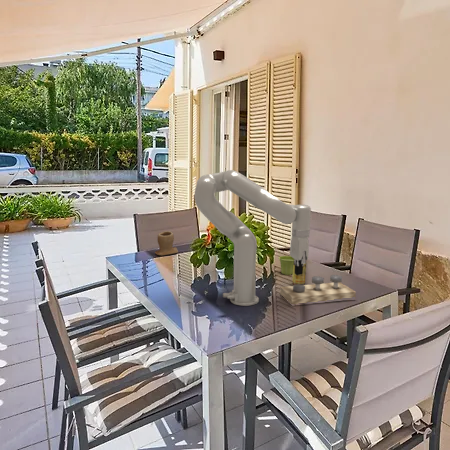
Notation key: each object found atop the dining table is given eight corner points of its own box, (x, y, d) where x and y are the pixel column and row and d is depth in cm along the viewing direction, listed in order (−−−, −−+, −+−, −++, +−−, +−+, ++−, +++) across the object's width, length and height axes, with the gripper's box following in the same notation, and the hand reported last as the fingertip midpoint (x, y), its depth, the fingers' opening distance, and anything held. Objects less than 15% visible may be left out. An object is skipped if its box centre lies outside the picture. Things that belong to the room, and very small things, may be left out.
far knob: (333, 291, 181) (333, 278, 180) (327, 287, 186) (328, 275, 185) (343, 290, 182) (344, 277, 181) (337, 286, 187) (338, 274, 186)
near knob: (295, 301, 178) (295, 288, 177) (290, 297, 183) (291, 284, 182) (306, 300, 179) (306, 287, 178) (301, 296, 184) (302, 284, 183)
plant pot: (295, 271, 224) (295, 256, 222) (296, 276, 214) (297, 260, 213) (278, 270, 225) (278, 255, 223) (278, 275, 215) (279, 260, 214)
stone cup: (160, 258, 252) (159, 234, 249) (153, 254, 262) (152, 231, 259) (182, 254, 259) (182, 232, 257) (174, 251, 269) (174, 229, 267)
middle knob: (314, 293, 179) (315, 280, 178) (309, 289, 184) (310, 276, 183) (325, 292, 180) (325, 279, 179) (320, 288, 185) (320, 275, 184)
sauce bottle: (295, 288, 196) (296, 248, 192) (290, 284, 202) (291, 245, 198) (307, 286, 198) (309, 247, 194) (302, 282, 204) (303, 244, 200)
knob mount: (292, 306, 173) (292, 297, 172) (280, 295, 186) (280, 286, 185) (355, 300, 180) (355, 291, 179) (339, 290, 193) (339, 282, 192)
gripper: (285, 230, 182) (284, 269, 185) (299, 237, 167) (297, 279, 171) (301, 229, 183) (299, 268, 187) (316, 236, 169) (313, 278, 172)
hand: (298, 273), depth 179 cm, fingers closed
